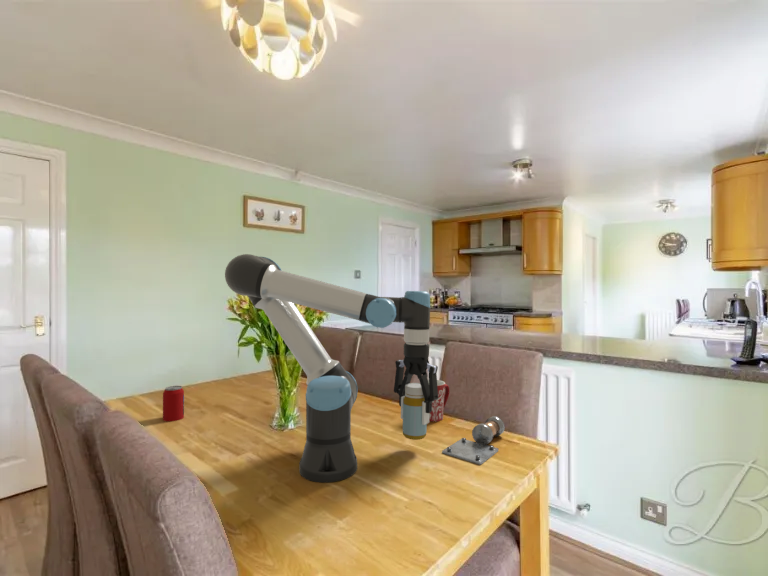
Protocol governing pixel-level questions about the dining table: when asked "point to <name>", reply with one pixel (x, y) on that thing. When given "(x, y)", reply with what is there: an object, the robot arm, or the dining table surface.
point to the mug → (439, 402)
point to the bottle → (413, 412)
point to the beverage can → (173, 403)
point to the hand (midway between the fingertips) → (414, 420)
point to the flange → (478, 442)
